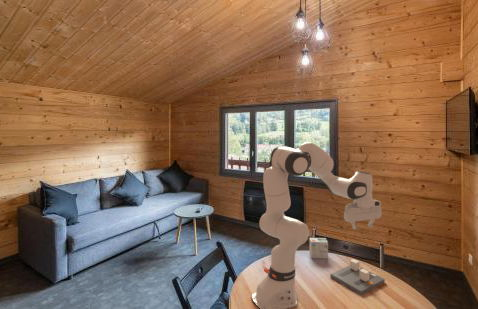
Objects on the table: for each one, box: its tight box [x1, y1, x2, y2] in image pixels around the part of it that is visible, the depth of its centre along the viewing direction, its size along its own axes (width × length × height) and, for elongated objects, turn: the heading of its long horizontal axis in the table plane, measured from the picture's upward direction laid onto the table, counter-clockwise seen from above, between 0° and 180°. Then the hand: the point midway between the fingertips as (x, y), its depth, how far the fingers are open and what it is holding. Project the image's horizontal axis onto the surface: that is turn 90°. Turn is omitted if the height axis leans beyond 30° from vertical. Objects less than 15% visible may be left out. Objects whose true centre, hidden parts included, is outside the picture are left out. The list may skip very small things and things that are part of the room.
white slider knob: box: [349, 258, 360, 271], centre depth 142 cm, size 3×4×4 cm
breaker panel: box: [329, 265, 386, 296], centre depth 135 cm, size 20×18×2 cm
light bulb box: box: [308, 237, 329, 259], centre depth 161 cm, size 11×7×11 cm, turn 84°
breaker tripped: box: [359, 268, 369, 282], centre depth 131 cm, size 3×4×4 cm
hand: (362, 227), depth 134 cm, fingers open, 8 cm apart
